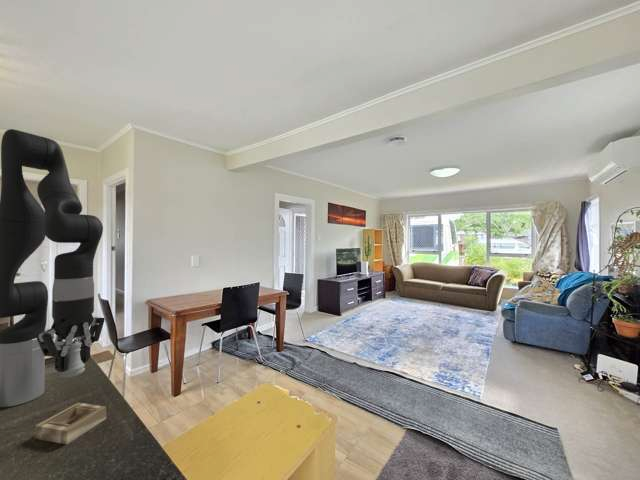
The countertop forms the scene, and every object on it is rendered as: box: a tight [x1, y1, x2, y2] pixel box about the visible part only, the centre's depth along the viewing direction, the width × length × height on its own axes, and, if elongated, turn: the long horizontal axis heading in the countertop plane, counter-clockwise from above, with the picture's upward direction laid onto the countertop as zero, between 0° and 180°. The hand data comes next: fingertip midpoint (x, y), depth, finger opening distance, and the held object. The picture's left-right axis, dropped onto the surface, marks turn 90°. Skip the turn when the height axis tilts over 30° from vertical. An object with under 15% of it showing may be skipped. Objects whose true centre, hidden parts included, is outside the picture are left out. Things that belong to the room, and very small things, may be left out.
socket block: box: [35, 402, 107, 445], centre depth 65 cm, size 9×9×3 cm
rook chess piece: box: [60, 338, 86, 379], centre depth 65 cm, size 4×4×8 cm
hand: (73, 366), depth 65 cm, fingers closed on rook chess piece, 4 cm apart
